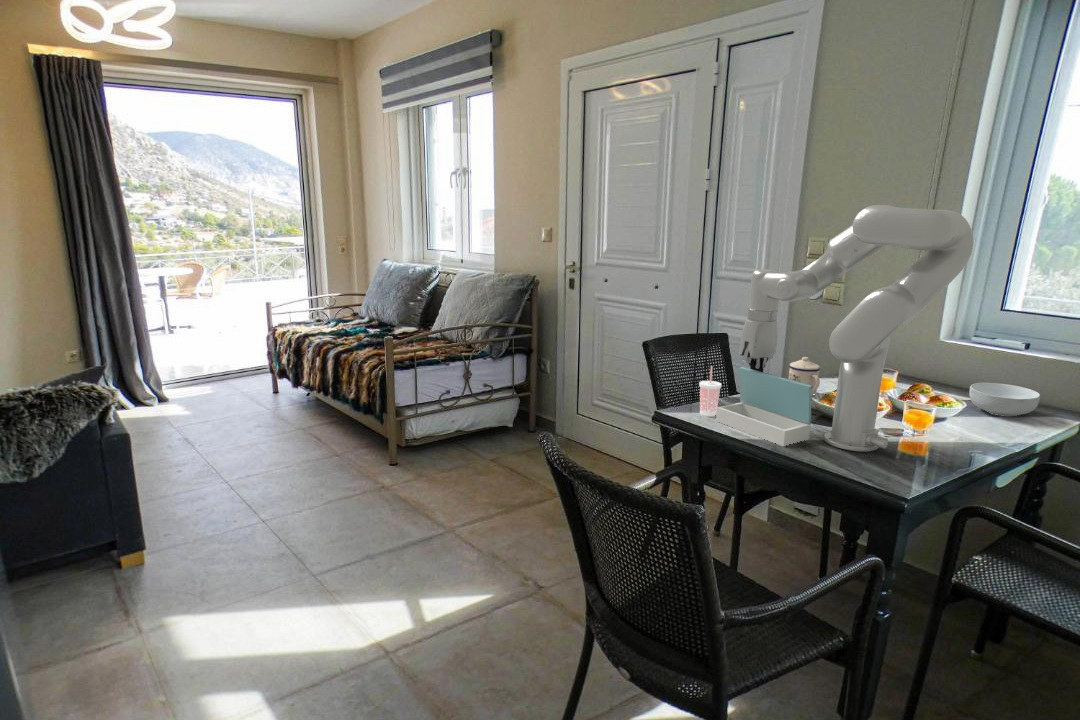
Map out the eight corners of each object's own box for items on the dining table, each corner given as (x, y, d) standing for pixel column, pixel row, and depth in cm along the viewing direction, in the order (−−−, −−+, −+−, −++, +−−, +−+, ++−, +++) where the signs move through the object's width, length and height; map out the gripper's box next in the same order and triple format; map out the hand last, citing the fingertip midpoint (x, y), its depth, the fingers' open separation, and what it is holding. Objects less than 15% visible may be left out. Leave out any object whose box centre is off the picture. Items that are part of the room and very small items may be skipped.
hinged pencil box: (808, 439, 163) (810, 424, 163) (783, 446, 158) (784, 431, 157) (740, 415, 182) (742, 402, 181) (715, 421, 176) (717, 407, 176)
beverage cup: (720, 412, 184) (724, 365, 181) (717, 418, 179) (721, 369, 176) (699, 409, 187) (702, 362, 184) (695, 415, 181) (698, 367, 178)
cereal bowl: (963, 401, 199) (966, 379, 197) (1028, 409, 191) (1033, 386, 190) (970, 416, 184) (974, 392, 182) (1041, 426, 177) (1047, 401, 175)
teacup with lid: (780, 389, 208) (784, 354, 206) (804, 388, 211) (808, 353, 208) (803, 400, 197) (808, 363, 194) (829, 398, 199) (833, 362, 197)
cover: (808, 425, 162) (812, 423, 163) (809, 386, 159) (812, 385, 160) (740, 402, 180) (743, 401, 181) (739, 367, 177) (742, 366, 178)
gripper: (769, 311, 180) (763, 375, 185) (732, 315, 173) (726, 381, 177) (792, 316, 174) (784, 381, 178) (754, 320, 166) (747, 388, 171)
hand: (755, 381), depth 178 cm, fingers closed
